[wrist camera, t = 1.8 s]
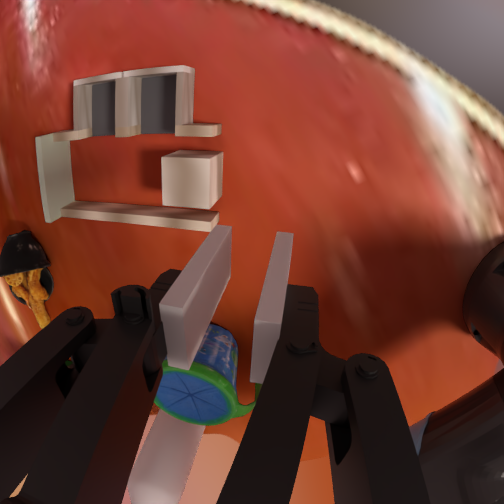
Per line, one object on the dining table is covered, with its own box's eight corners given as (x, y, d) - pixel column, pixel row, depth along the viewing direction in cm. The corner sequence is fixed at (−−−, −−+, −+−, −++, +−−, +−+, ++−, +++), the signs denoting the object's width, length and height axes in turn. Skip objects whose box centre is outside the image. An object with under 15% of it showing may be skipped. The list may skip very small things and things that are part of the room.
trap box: (224, 67, 26) (208, 60, 21) (218, 221, 33) (204, 240, 28) (63, 86, 28) (34, 88, 24) (70, 207, 35) (45, 222, 31)
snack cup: (283, 341, 38) (273, 405, 29) (248, 385, 43) (234, 443, 34) (168, 287, 38) (131, 340, 29) (150, 339, 42) (119, 390, 33)
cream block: (223, 151, 30) (210, 158, 26) (222, 195, 32) (209, 209, 28) (180, 149, 30) (161, 157, 26) (180, 192, 32) (162, 205, 28)
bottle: (207, 424, 50) (158, 570, 24) (165, 411, 51) (105, 550, 24) (211, 401, 46) (153, 569, 20) (164, 386, 47) (90, 543, 20)
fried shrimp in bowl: (26, 225, 32) (56, 361, 34) (59, 226, 43) (82, 336, 45) (-21, 238, 31) (8, 363, 32) (16, 236, 42) (38, 340, 43)
